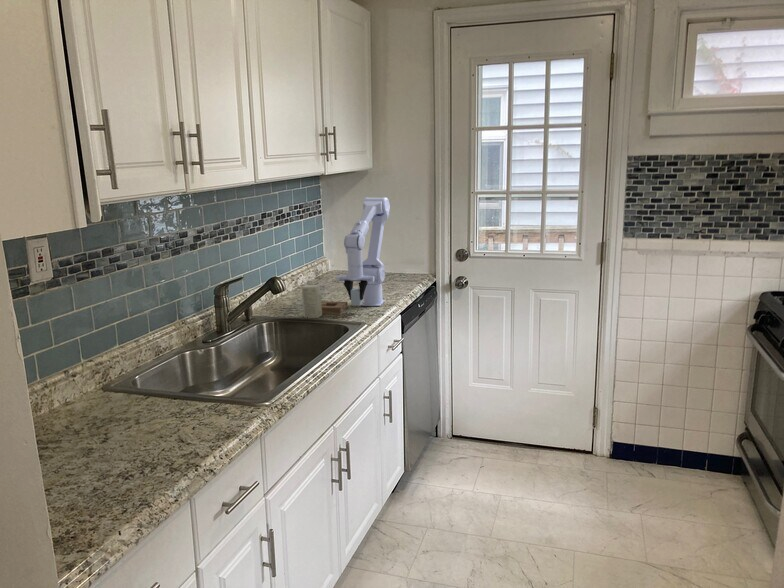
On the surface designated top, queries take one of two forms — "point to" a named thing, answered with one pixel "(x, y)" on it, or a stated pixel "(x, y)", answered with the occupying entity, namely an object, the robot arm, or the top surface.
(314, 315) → the skincare box
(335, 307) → the walnut socket block
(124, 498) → the top surface
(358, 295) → the peg
